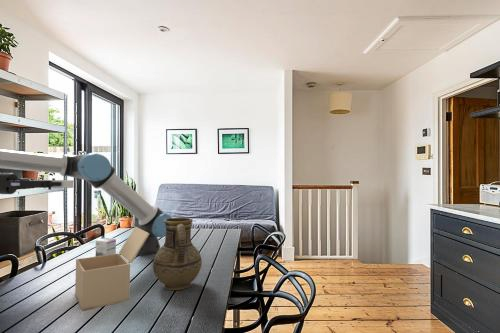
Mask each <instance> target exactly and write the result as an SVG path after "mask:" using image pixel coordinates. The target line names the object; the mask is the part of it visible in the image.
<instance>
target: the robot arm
mask: <svg viewBox="0 0 500 333" xmlns="http://www.w3.org/2000/svg"><path fill="white" fill-rule="evenodd" d="M0 169H3V170H4V169H6V170H16V171H17V170H18V171H27V172H29V171H30V172H39V173H50V174H51V173H52V174H55V173H56V174H59V175H61V177H70V178H76V179H80V180H84V181H86V182H87V183H89V184H90V185H91V186H92V187H93V188H95V189H101V190H102V191H103V192H105V193H106V194H108V195H109V196H110V197H111V198H112V199H113V200H114V201H116V202H117V203H118V204H119V205H120V206H122V207H123V208H124V209H125V210H127V211H128V212H129V213H130V214H132V215H133V217H134V220H133V221H134V223H133V224H134V227H133V228H135V227H138V228H140V229H142V230H144V231H145V232H147V233H149V236H148V237H147V239H146V241H145V242H144V244H143V245H142V247H141V249H140V250H139V252H138V254H137V255H136V256H149V255H154V254H155V255H156V254H157V252H158V251H159V250H160V248H161V244H160V241H159V238H165V235H166V227H165V222H164V220H165V219H169V218H173V217H172V216H171V215H170V214H169V213H165V212H164V211H163V210H162V209H161V208H159V206H156V205H151V204H150V203H149V202H147V201H146V199H144V198H143V197H142V196H141V195H139V193H137V192H136V191H135V190H134V189H133V188H131V186H129V185H128V183H127V182H125V181H124V180H123V179H122V178H120V177H119V176H118V175H117V172H116V169H115V168H114V167H113V166H112V165H111V162H110V160H109V158H108V157H106V156H105V155H103V154H101V153H97V152H89V153H82V154H63V155H52V154H44V153H35V152H27V151H18V150H17V151H16V150H10V149H2V148H1V149H0ZM35 188H36V189H40V188H41V189H42V188H43V189H48V190H50V191H51V190H52V189H53V188H54V189H55V188H57V189H59V188H60V189H73V188H74V180H73V179H72V180H71V179H69V180H67V179H56V178H54V177H53V178H52V179H49V180H47V179H35V178H27V177H18V176H17V175H16V174H15V173H13V172H0V195H13V194H15V193H16V192H17V191H18V190H26V189H27V190H29V189H35Z"/></svg>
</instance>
